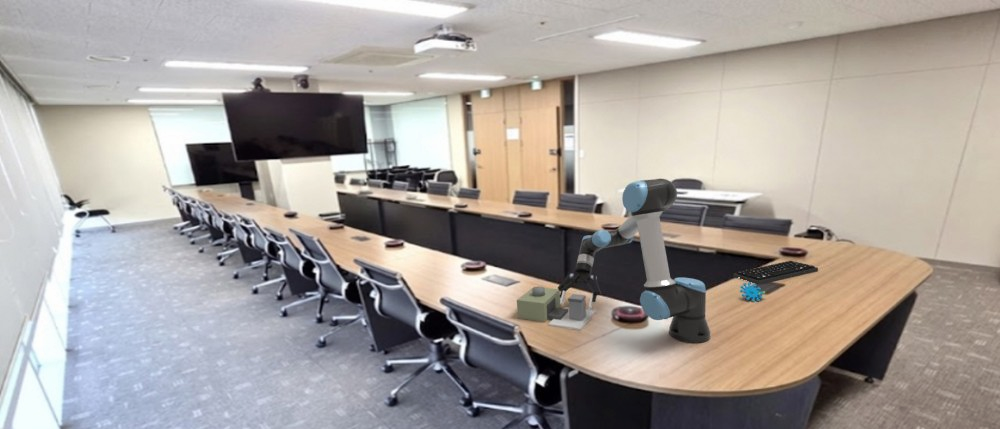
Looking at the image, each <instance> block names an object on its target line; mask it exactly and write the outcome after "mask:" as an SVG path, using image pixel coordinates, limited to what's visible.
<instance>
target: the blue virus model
mask: <svg viewBox="0 0 1000 429" xmlns="http://www.w3.org/2000/svg"><path fill="white" fill-rule="evenodd" d="M747 285H748V286H747ZM751 285H752V286H751ZM757 285H758V284H754V283H751V282H747V283H746V282H744V283H742V285H740V287H739V288H740V290H739V292H740V293H742V294H741V297H742V298H744V297H745V300H746V301H750V299H751V302H752V301H754V302H755V301H756V302H760V300H761V299H762V298H763V295H764V294H765V293H766V291H763V290H762V288H761V287H760V286H758V287H757ZM761 290H762V291H761Z"/></svg>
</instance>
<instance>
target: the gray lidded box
mask: <svg viewBox="0 0 1000 429" xmlns="http://www.w3.org/2000/svg"><path fill="white" fill-rule="evenodd" d="M586 298H587V296H586V294H584V295H583V294H577V293H576V294H575V293H572V294H571V295H570V296H569V297H568V299H567V300H568V307H569V319H572V320H579V321H582V320H583V319H584V318H585V317H586V309H587V307H586V306H587V305H586V301H587V300H586Z"/></svg>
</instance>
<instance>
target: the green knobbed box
mask: <svg viewBox="0 0 1000 429" xmlns="http://www.w3.org/2000/svg"><path fill="white" fill-rule="evenodd" d="M560 293H561V291H559V289H558V288H549V287H543V286H533V287H532V288H530V289H529V290H528V291H527V292H526V293H524V294H523V295H521V296H520V297H519V298H517V299H516V309H517V310H516V311H517V312H516V313H517V319H522V320H527V321H528V320H529V321H534V322H535V321H536V322H541V323H546V322H547V320H548V321H550V322H549V323H548V326H550V327H556V328H561V329H569V330H576V331H582V330H583V328H584V327H585V326H586V324H587V323H588V322H589V320H590V319H591V318H592V317H593V315H594V314H595V313H596V310H595V309H592V310H591V309H590V308H588V309H587V308H586V317H585V318H584V319H583V320H582V321H579V320H572V319H569V306H564V307H563V308H562V306H561V304H560V301H561V298H560Z"/></svg>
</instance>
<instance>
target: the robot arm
mask: <svg viewBox="0 0 1000 429" xmlns="http://www.w3.org/2000/svg"><path fill="white" fill-rule="evenodd" d="M677 197H678V190H677V187H676V186H675V184H674V183H673V182H672V181H670V180H668V179H667V178H654V179H645V180H644V179H643V180H637V181H633V182H630V183H628V184H627V185H626V186H625V189H624V190H623V192H622V198H621V199H622V205H623V208H625V210H626V211H628V212H630V213H631V215H629V217H627V219H626V220H625V221H623V223H622V224H620V226H618V227H617V228H616V229H612V230H608V231H607V230H605V229H600V230H598V231H596V232H594V233H593V234H592V235H590V234H589V235H584V236H583V237H582V240H581V242H580V247H579V252H578V256H577V260H576V261H577V262H576V264H575V269H574V273H571V272H567V274H566V276H565V277H564V279H563V280H562V281H561V283H560V284H559V285H558V287H557V289H559V291H560V306H561V307H564V304H565V299H566V295H567V291H568V290H569V289H570V288H572V287H573V286H574V285H576V284H579V285H580V284H582V285H585V284H586V285H587V286H588V288H589V289H590V291H591V292H592V293H591V294H590V299H589V303H588V309H589V310H593V306H594V303H596V301H597V296H602V292H601V290H600V286H599V283H598V276H597V275H596V274H594V273H593V274H592V271H593V265H594V261H595V255H596V253H597V252H599V251H600V250H602V249H606V248H612V247H617V246H622V245H627V244H631V243H633V240H634V236H635V235H636V234H637V233H638V236H639V242H640V247H641V252H642V259H643V264H644V270H645V275H646V276H645V277H646V282H645V283H644V284H643V287H644V291H642V292H641V294H640V296H639V297H640V298H639V303H640V306H641V308H642V310H643V312H644V313H645V314H646V315H647V317H648V318H650V319H651V320H654V321H663V320H668V319H670V318H671V321H670V325H669V330H668V333H669V335H670V336H671V337H672V336H673V337H674V338H673V337H672V338H673V339H675V338H676V340H677V339H678V341H680V340H682V341H681V342H684V341H686V342H685V343H690V342H693V344H696V342H697V344H698V342H700V343H705V342H707V341H709V340H710V339H711V330H710V328H709V324H708V321H707V318H706V309H707V308H706V305H707V304H706V303H707V302H706V298H707V297H706V296H707V295H706V294H707V291H706V284H705V283H704V282H703V281H701V280H699V279H695V278H691V277H690V278H689V277H675V278H674V279H673V278H671V275H670V268H669V262H668V258H667V257H668V256H667V253H666V252H667V250H666V247H665V240H664V237H663V236H664V235H663V228H662V223H661V218H660V217H661V215H662V214H663V212H666V211H667V210H668V209H670V207H672V206H673V205H674V204H675V202H676V200H677ZM591 279H592V281H593V284H594V286H595V289H596V290H595V289H594V287H593V286H592V284H591V283H590V280H591ZM704 341H705V342H704ZM694 342H695V343H694Z"/></svg>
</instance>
